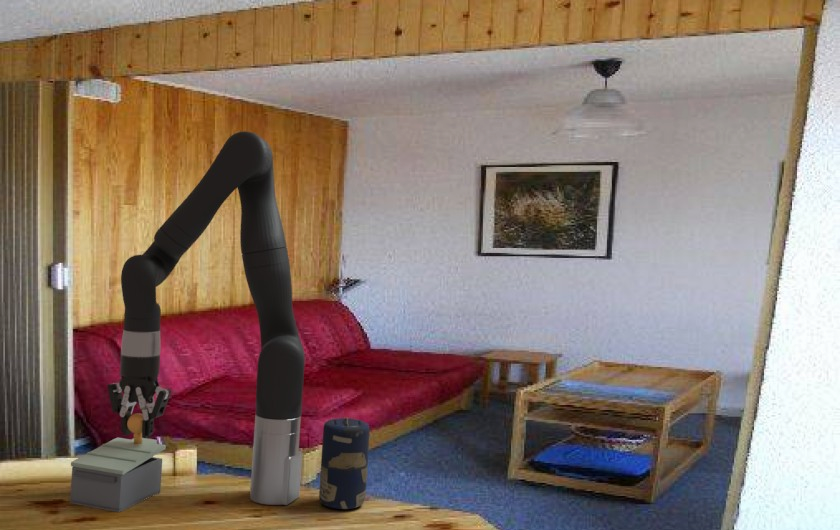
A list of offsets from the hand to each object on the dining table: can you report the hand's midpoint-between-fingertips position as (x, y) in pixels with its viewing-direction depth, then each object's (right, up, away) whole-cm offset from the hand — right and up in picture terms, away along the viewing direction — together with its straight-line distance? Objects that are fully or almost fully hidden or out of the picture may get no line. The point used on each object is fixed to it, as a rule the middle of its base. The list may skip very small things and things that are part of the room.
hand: (136, 435), depth 158 cm
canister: (+42, -14, 0) cm, 44 cm away
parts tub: (-2, -11, -5) cm, 12 cm away
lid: (-1, -3, -4) cm, 5 cm away
